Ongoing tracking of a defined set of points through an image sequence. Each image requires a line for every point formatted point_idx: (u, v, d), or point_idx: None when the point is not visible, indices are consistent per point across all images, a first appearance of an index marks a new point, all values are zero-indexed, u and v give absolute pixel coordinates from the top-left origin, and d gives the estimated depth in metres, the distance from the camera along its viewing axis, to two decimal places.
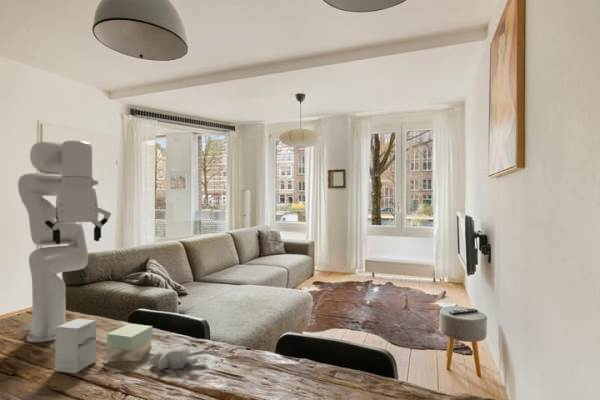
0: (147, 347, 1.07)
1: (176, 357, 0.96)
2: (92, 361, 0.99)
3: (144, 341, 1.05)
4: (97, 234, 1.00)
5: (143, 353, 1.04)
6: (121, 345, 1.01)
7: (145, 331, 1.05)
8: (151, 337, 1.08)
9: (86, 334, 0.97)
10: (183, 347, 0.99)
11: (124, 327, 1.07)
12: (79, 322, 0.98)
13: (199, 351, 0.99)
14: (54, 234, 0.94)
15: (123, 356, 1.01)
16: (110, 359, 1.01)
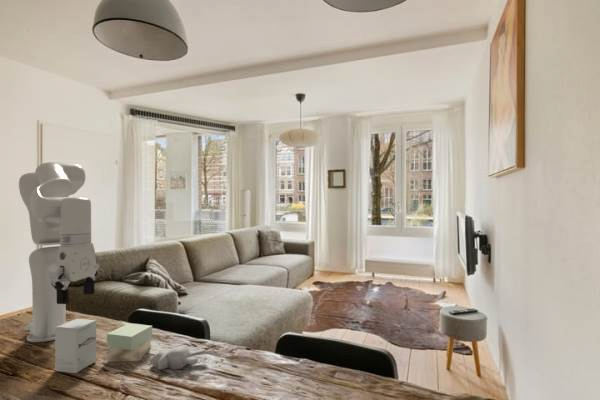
0: (146, 346, 1.07)
1: (176, 357, 0.95)
2: (92, 361, 0.99)
3: (144, 341, 1.05)
4: None
5: (143, 353, 1.04)
6: (121, 345, 1.01)
7: (145, 331, 1.06)
8: (151, 336, 1.08)
9: (86, 334, 0.97)
10: (183, 347, 0.99)
11: (123, 327, 1.07)
12: (79, 322, 0.98)
13: (199, 351, 0.99)
14: None
15: (122, 356, 1.01)
16: (110, 359, 1.01)
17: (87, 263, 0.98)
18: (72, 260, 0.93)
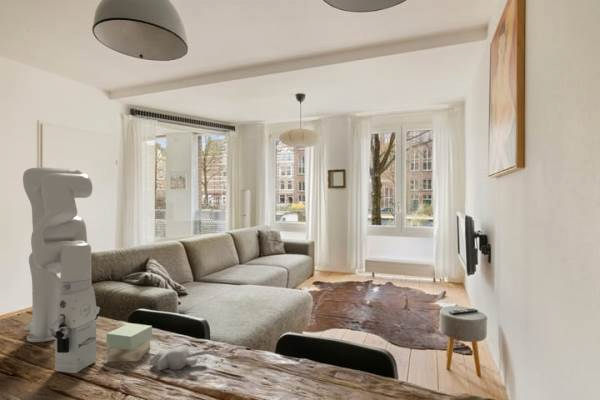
0: (146, 347, 1.07)
1: (176, 357, 0.95)
2: (92, 361, 0.99)
3: (143, 341, 1.05)
4: None
5: (142, 353, 1.04)
6: (121, 345, 1.01)
7: (145, 331, 1.05)
8: (150, 337, 1.08)
9: (86, 334, 0.97)
10: (183, 347, 0.99)
11: (123, 327, 1.07)
12: None
13: (199, 352, 0.99)
14: None
15: (122, 356, 1.01)
16: (109, 359, 1.01)
17: (87, 309, 0.98)
18: (72, 308, 0.93)
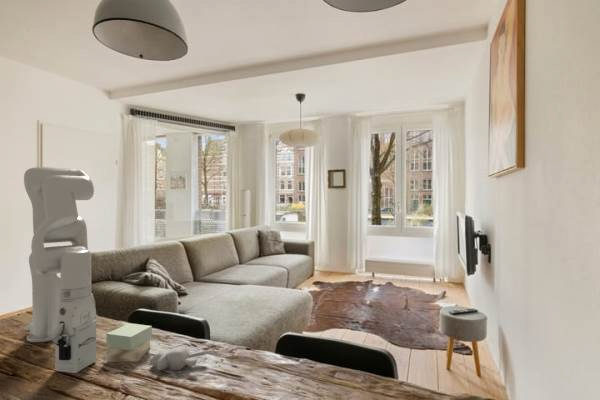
0: (146, 347, 1.07)
1: (176, 358, 0.95)
2: (92, 361, 0.99)
3: (143, 341, 1.05)
4: None
5: (142, 353, 1.04)
6: (121, 345, 1.01)
7: (144, 331, 1.05)
8: (150, 337, 1.08)
9: (86, 334, 0.97)
10: (182, 348, 0.98)
11: (123, 327, 1.07)
12: None
13: (199, 352, 0.98)
14: None
15: (121, 356, 1.01)
16: (109, 359, 1.00)
17: (87, 315, 0.98)
18: (72, 315, 0.93)
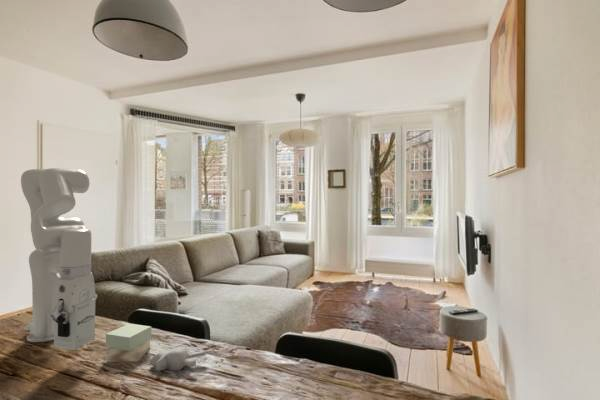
0: (146, 347, 1.07)
1: (175, 358, 0.95)
2: (90, 339, 1.00)
3: (143, 341, 1.05)
4: None
5: (142, 353, 1.04)
6: (120, 346, 1.01)
7: (144, 331, 1.05)
8: (150, 337, 1.08)
9: (85, 312, 0.97)
10: (182, 348, 0.98)
11: (123, 327, 1.07)
12: None
13: (198, 353, 0.98)
14: None
15: (121, 356, 1.01)
16: (109, 359, 1.00)
17: (86, 294, 0.99)
18: (71, 293, 0.94)
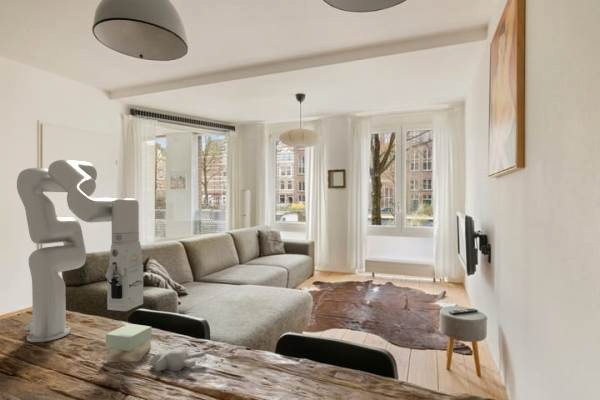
0: (146, 347, 1.07)
1: (175, 359, 0.94)
2: (140, 303, 1.06)
3: (143, 342, 1.04)
4: None
5: (143, 353, 1.04)
6: (120, 346, 1.00)
7: (144, 332, 1.05)
8: (150, 337, 1.07)
9: (135, 276, 1.03)
10: (182, 349, 0.98)
11: (123, 327, 1.07)
12: None
13: (198, 354, 0.98)
14: None
15: (122, 356, 1.01)
16: (109, 359, 1.00)
17: (135, 260, 1.05)
18: (123, 257, 1.00)
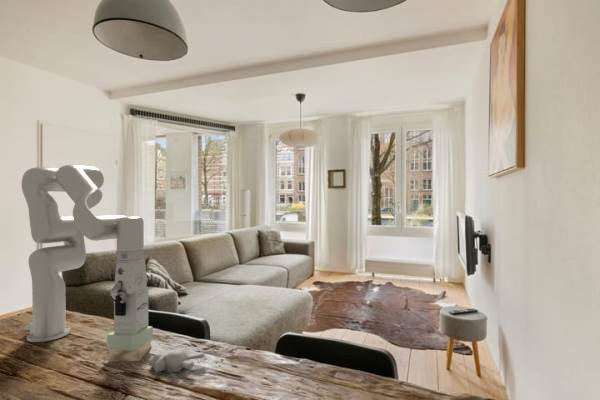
0: (147, 347, 1.07)
1: (173, 360, 0.94)
2: (145, 325, 1.08)
3: (144, 341, 1.05)
4: None
5: (143, 353, 1.04)
6: (121, 346, 1.01)
7: (145, 332, 1.05)
8: (151, 337, 1.08)
9: (142, 299, 1.05)
10: (181, 350, 0.97)
11: None
12: None
13: (197, 355, 0.97)
14: None
15: (123, 356, 1.01)
16: (110, 359, 1.01)
17: (140, 277, 1.06)
18: (129, 275, 1.01)
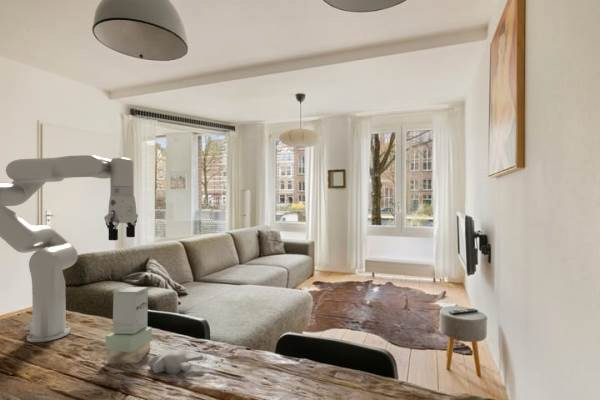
0: (146, 348, 1.06)
1: (172, 361, 0.93)
2: (144, 325, 1.07)
3: (143, 343, 1.03)
4: None
5: (142, 354, 1.03)
6: (120, 347, 0.99)
7: (144, 333, 1.04)
8: (150, 339, 1.06)
9: (141, 299, 1.05)
10: (180, 351, 0.96)
11: None
12: (134, 288, 1.06)
13: (196, 357, 0.96)
14: None
15: (122, 357, 1.00)
16: (109, 361, 1.00)
17: (130, 211, 1.23)
18: (120, 206, 1.18)
